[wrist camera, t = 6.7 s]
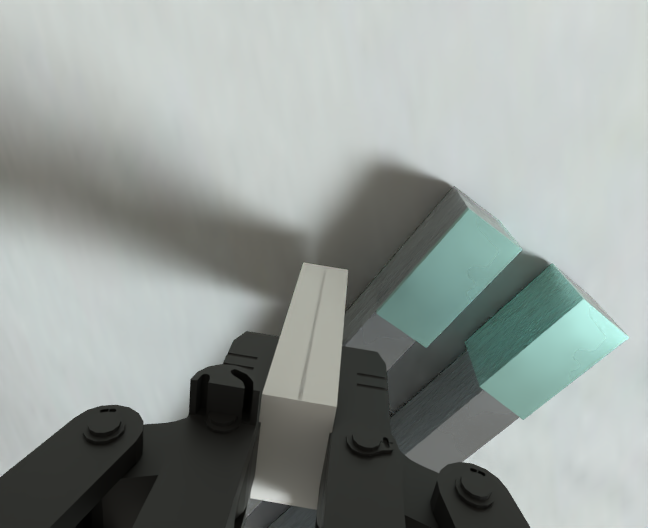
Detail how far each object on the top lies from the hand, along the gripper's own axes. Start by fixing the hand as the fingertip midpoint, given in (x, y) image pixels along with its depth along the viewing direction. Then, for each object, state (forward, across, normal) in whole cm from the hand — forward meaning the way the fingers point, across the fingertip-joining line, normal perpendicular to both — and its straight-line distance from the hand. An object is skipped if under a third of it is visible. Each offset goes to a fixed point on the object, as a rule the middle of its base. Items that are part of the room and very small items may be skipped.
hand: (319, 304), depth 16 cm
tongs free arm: (+2, 0, -4) cm, 4 cm away
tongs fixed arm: (+2, +2, -7) cm, 7 cm away
